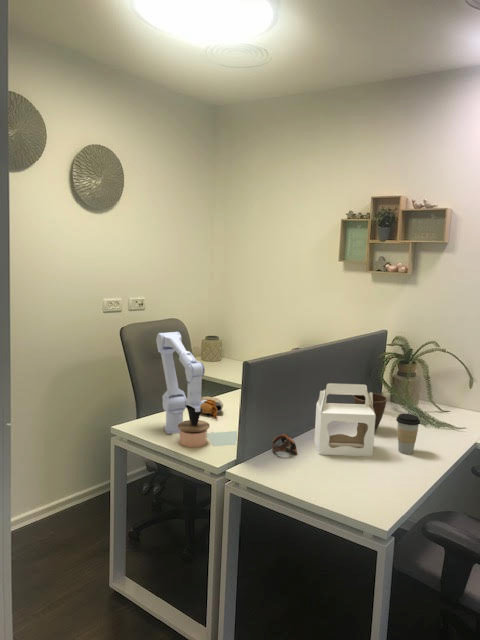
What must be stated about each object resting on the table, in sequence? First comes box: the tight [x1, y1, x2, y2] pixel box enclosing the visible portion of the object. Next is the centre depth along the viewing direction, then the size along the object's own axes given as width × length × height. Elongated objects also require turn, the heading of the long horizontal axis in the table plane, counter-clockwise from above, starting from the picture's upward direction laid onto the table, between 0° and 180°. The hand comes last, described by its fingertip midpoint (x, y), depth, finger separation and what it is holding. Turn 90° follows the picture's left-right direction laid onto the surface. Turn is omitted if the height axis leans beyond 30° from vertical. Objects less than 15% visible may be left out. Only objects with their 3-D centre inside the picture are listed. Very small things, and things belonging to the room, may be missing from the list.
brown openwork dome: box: [271, 433, 298, 455], centre depth 205 cm, size 12×10×8 cm
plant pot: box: [353, 392, 388, 433], centre depth 233 cm, size 15×15×16 cm
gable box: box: [313, 382, 376, 457], centre depth 208 cm, size 22×13×28 cm, turn 90°
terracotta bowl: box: [179, 429, 208, 448], centre depth 210 cm, size 11×11×6 cm
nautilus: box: [200, 396, 224, 420], centre depth 248 cm, size 8×22×15 cm
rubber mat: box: [207, 430, 238, 447], centre depth 216 cm, size 15×15×1 cm
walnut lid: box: [178, 419, 211, 432], centre depth 210 cm, size 13×13×3 cm
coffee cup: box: [395, 413, 421, 455], centre depth 209 cm, size 9×9×15 cm
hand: (193, 423), depth 210 cm, fingers closed on walnut lid, 3 cm apart
